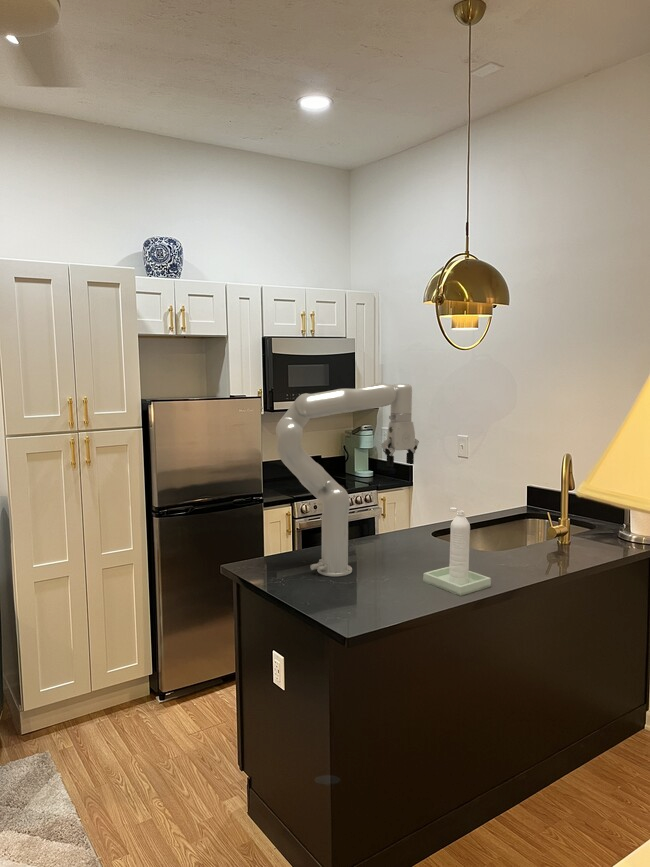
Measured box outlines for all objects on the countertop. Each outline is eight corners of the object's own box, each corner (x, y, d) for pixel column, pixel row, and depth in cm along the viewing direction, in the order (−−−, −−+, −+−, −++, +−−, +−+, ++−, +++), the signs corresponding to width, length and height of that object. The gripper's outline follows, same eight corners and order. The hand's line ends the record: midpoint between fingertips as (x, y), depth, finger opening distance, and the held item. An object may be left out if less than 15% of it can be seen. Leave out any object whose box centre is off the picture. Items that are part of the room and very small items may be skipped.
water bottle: (472, 584, 220) (474, 512, 217) (456, 587, 218) (458, 513, 215) (456, 576, 228) (459, 506, 225) (441, 578, 225) (443, 508, 222)
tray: (460, 596, 211) (460, 587, 211) (423, 581, 225) (423, 573, 225) (490, 586, 220) (490, 578, 220) (453, 573, 234) (453, 565, 234)
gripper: (389, 420, 226) (389, 468, 228) (425, 417, 236) (424, 464, 238) (375, 418, 232) (375, 465, 234) (411, 416, 242) (410, 461, 244)
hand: (400, 465), depth 236 cm, fingers open, 9 cm apart
